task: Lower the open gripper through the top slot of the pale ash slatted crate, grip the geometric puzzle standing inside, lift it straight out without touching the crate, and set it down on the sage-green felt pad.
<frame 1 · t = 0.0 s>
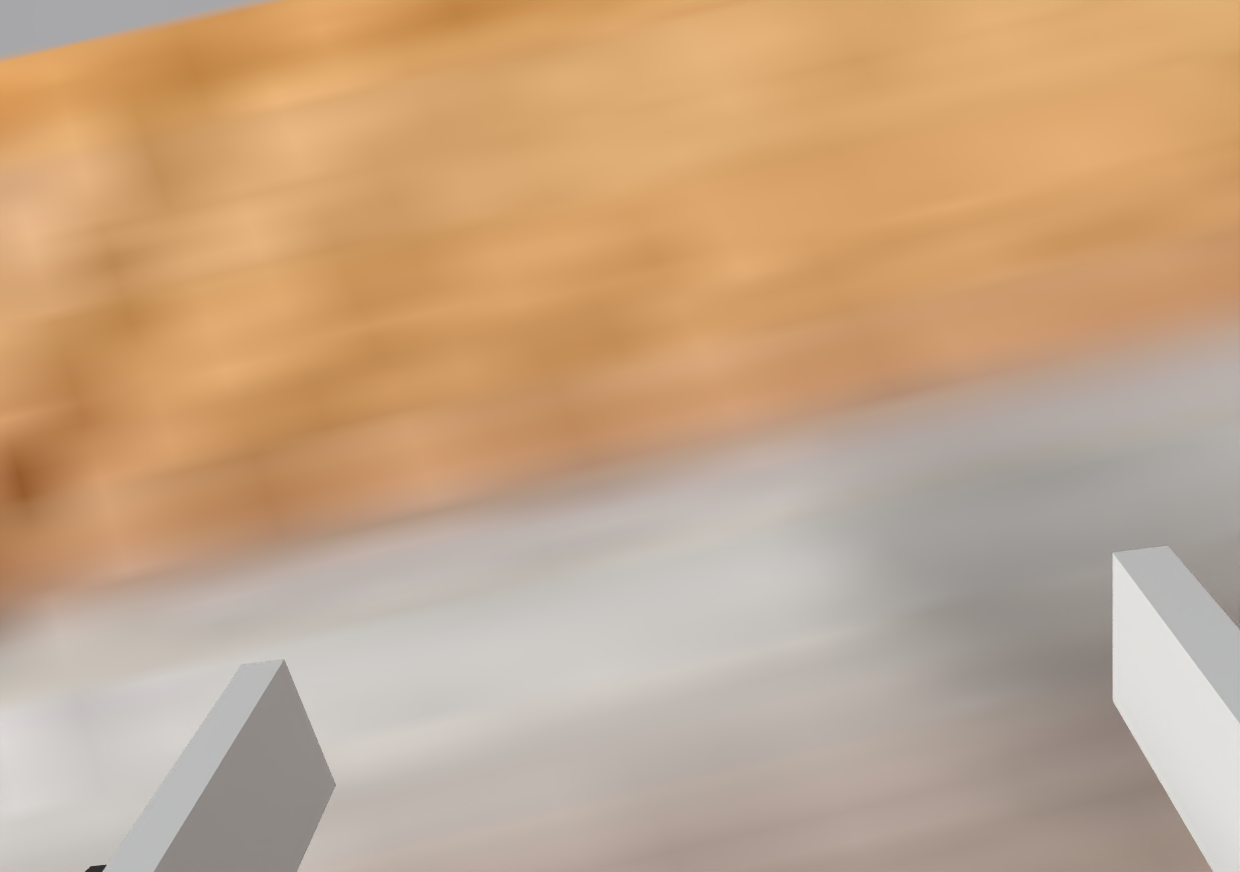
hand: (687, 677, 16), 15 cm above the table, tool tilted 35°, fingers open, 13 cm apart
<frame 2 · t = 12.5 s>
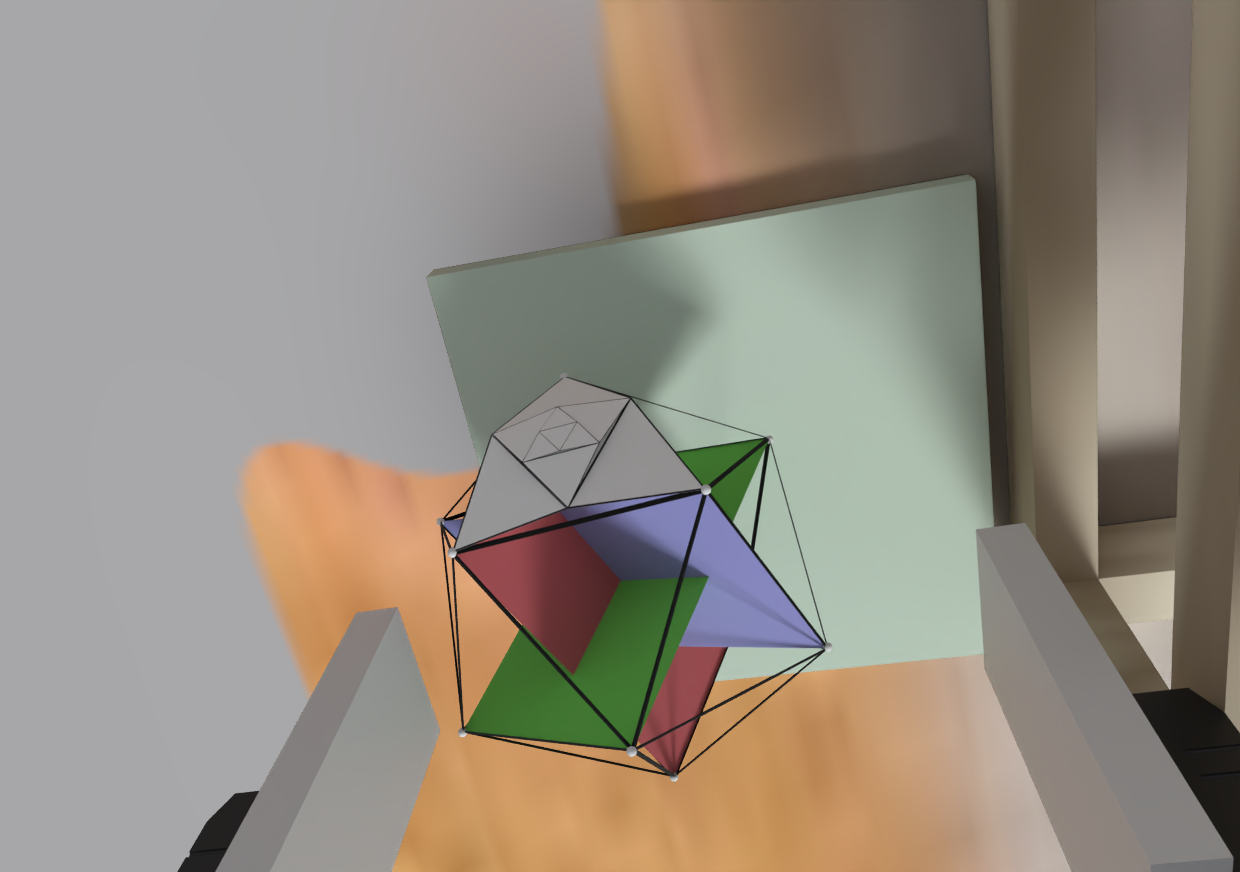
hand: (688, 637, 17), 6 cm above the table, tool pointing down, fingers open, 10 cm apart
felt pad: (729, 463, 22), on the table
geometric puzzle: (713, 497, 21), point 2 cm above the table, touching felt pad
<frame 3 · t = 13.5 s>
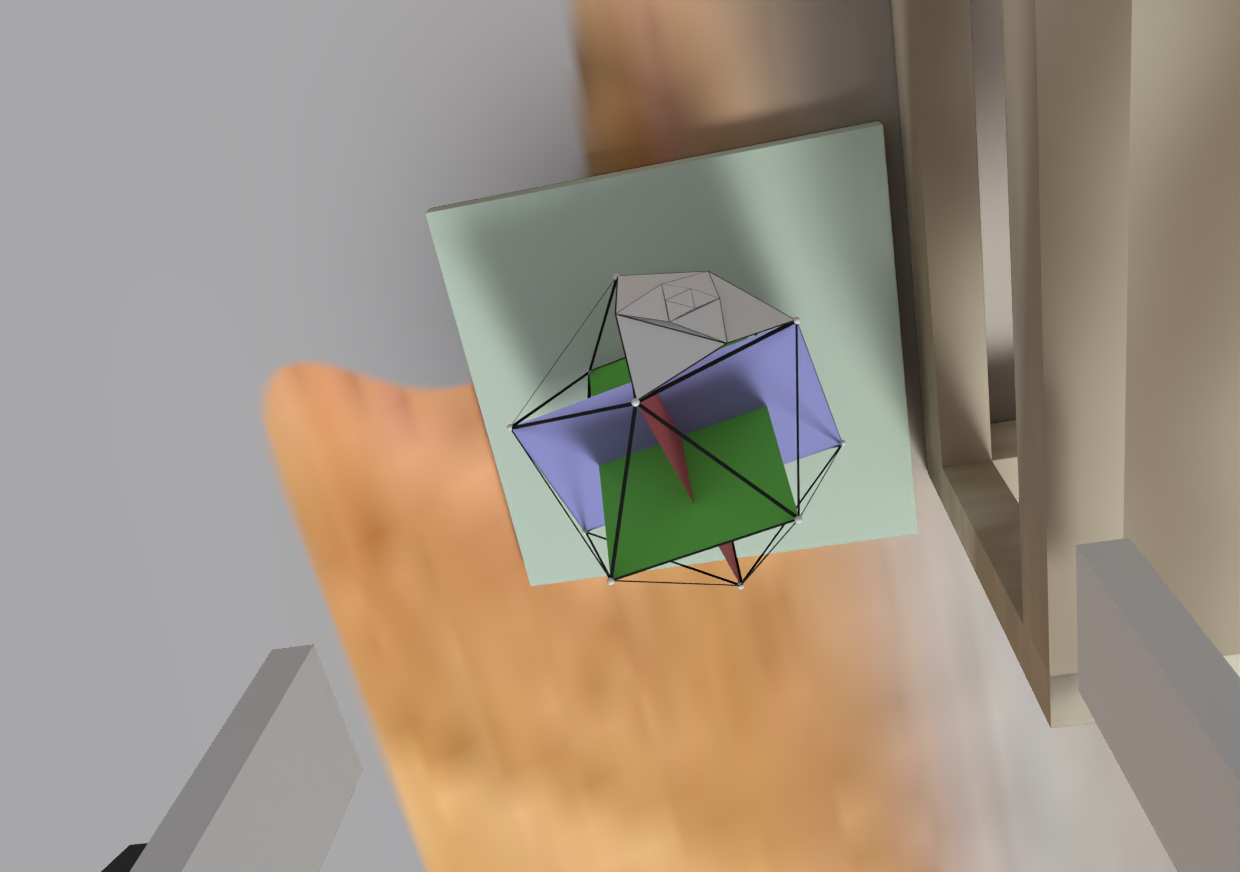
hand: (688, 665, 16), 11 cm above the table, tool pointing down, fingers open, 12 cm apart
felt pad: (685, 374, 26), on the table
geometric puzzle: (681, 380, 26), resting on felt pad
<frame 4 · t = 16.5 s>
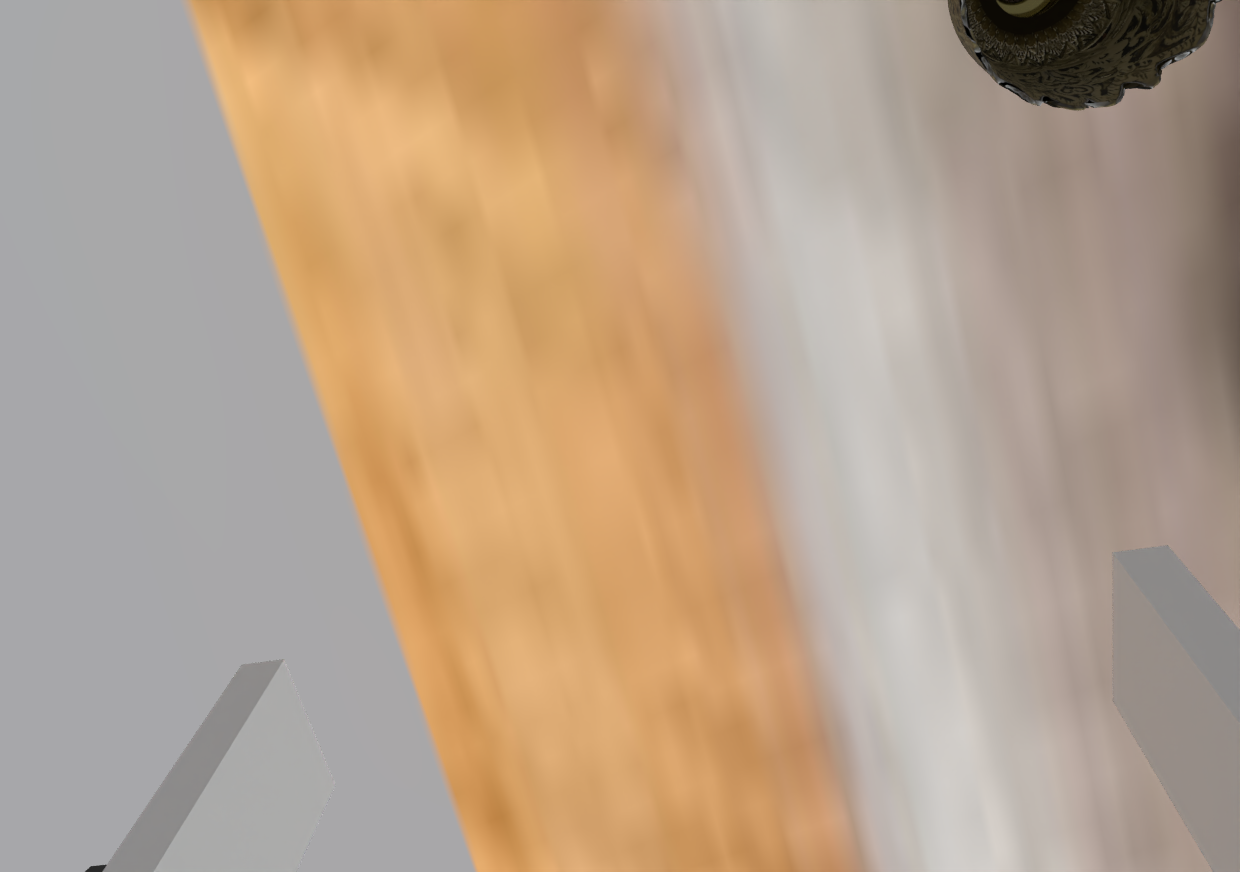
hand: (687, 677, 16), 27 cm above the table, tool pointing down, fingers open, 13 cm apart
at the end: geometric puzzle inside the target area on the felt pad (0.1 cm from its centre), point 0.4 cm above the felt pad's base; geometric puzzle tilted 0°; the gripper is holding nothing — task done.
